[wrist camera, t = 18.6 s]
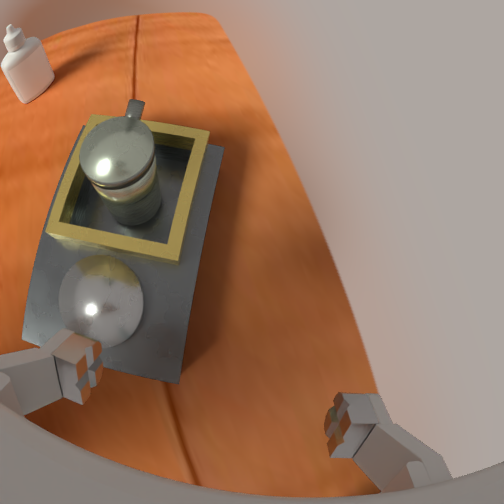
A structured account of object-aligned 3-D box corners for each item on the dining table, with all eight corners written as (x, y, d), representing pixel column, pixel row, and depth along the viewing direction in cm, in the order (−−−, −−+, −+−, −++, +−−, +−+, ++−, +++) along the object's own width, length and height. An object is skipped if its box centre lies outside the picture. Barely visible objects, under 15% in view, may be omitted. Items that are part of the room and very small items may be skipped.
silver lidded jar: (100, 219, 24) (65, 173, 15) (124, 153, 26) (106, 89, 17) (153, 231, 25) (138, 186, 16) (173, 163, 27) (172, 98, 18)
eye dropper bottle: (56, 90, 27) (29, 23, 16) (19, 108, 26) (-16, 48, 14) (55, 71, 28) (32, 7, 16) (20, 88, 26) (-9, 29, 15)
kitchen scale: (180, 374, 24) (177, 390, 19) (41, 337, 22) (9, 340, 16) (219, 167, 29) (227, 135, 23) (93, 146, 27) (77, 113, 21)
